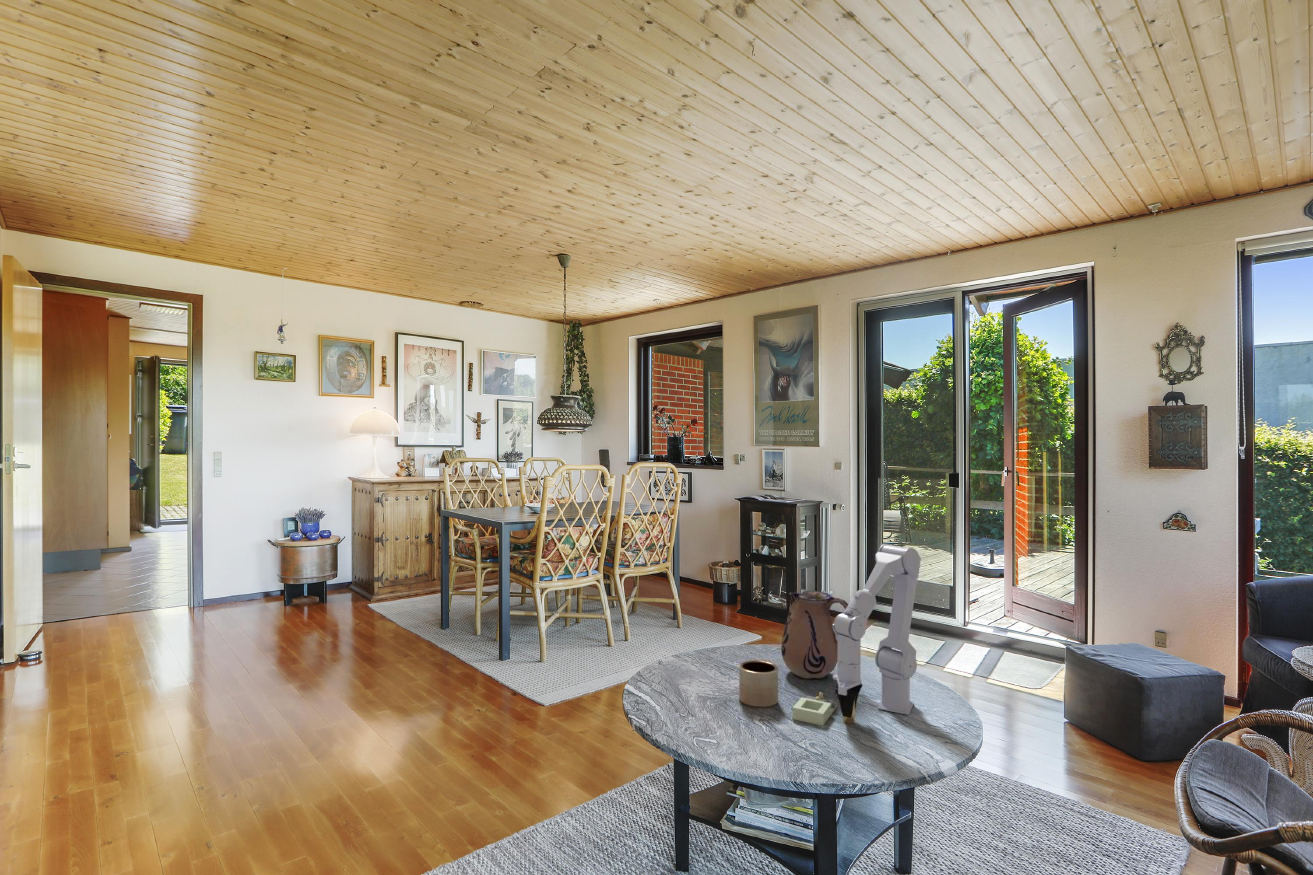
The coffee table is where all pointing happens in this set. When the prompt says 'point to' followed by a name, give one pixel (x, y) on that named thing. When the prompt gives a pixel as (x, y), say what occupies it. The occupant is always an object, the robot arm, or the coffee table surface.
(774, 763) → the coffee table surface
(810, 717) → the slot jig
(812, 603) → the ceramic pitcher
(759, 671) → the planter
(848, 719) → the brass pin
